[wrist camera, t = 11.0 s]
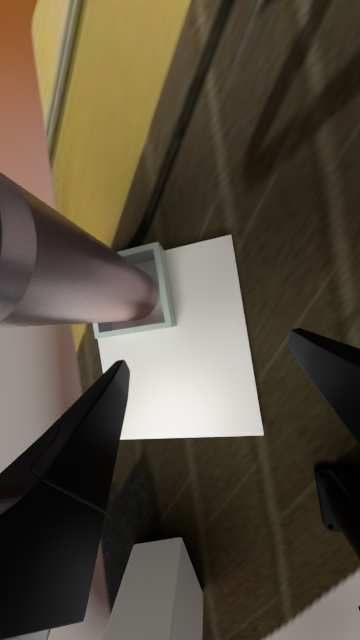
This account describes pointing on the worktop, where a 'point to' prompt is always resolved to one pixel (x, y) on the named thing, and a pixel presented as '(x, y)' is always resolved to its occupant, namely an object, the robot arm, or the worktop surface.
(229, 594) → the worktop surface
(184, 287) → the housing plate
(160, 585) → the milk carton
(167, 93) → the worktop surface
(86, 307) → the beverage can
